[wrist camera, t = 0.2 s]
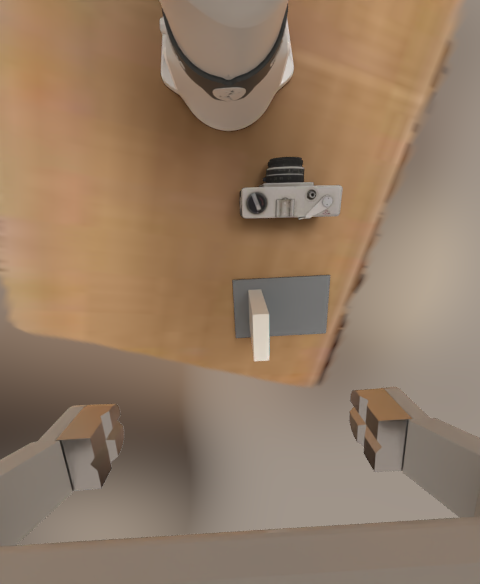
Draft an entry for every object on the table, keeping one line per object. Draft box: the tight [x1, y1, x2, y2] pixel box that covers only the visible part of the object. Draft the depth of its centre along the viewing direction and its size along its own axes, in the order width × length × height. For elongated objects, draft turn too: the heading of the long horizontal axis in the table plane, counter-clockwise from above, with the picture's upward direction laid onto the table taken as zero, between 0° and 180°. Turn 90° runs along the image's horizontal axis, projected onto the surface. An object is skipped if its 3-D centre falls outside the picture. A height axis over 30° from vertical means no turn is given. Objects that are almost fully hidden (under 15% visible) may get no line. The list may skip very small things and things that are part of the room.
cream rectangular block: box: [248, 289, 270, 361], centre depth 44 cm, size 8×3×11 cm, turn 3°
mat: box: [233, 275, 330, 338], centre depth 50 cm, size 12×18×1 cm, turn 93°
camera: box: [240, 157, 342, 220], centre depth 39 cm, size 14×9×10 cm, turn 84°
